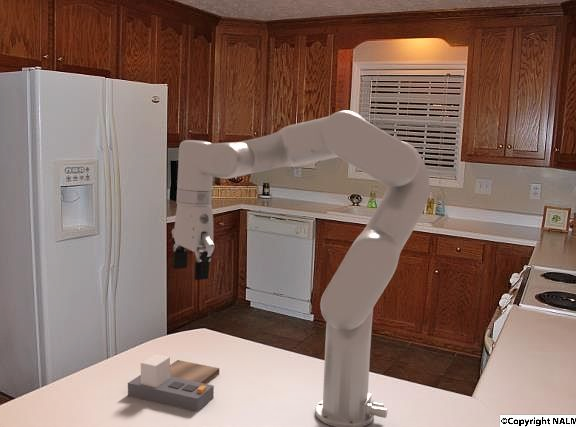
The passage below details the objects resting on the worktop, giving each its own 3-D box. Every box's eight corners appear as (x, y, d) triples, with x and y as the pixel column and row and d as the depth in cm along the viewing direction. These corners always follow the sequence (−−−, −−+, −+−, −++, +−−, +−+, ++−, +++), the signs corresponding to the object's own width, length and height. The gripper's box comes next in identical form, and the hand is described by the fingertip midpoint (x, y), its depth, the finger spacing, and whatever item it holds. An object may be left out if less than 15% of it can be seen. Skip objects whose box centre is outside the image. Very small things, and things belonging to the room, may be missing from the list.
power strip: (213, 398, 129) (213, 382, 129) (197, 411, 123) (197, 395, 122) (146, 383, 136) (146, 368, 135) (127, 395, 129) (127, 379, 129)
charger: (169, 384, 132) (169, 357, 132) (156, 393, 127) (155, 366, 126) (155, 380, 134) (155, 354, 133) (140, 390, 129) (140, 362, 128)
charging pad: (219, 374, 142) (219, 368, 142) (198, 390, 133) (198, 384, 133) (177, 365, 147) (177, 359, 146) (154, 380, 137) (154, 374, 137)
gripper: (230, 203, 121) (225, 281, 124) (190, 191, 134) (186, 263, 137) (198, 204, 116) (194, 285, 119) (160, 192, 130) (157, 265, 132)
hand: (190, 273), depth 128 cm, fingers open, 9 cm apart
